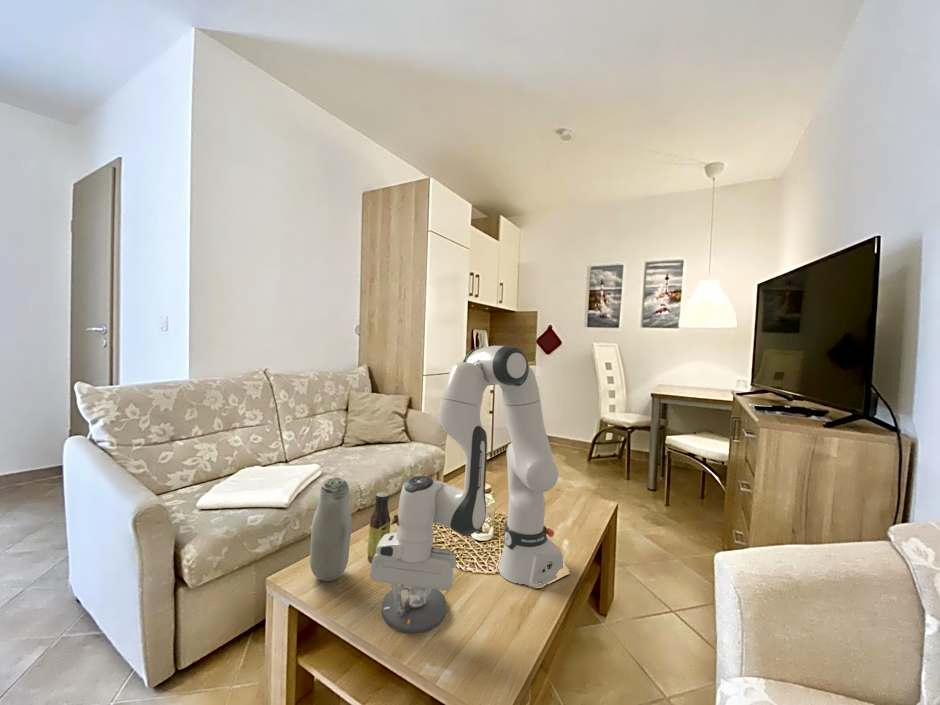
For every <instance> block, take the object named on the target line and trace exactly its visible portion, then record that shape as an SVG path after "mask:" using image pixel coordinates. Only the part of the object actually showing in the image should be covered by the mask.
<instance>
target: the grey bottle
mask: <svg viewBox="0 0 940 705" xmlns="http://www.w3.org/2000/svg"><path fill="white" fill-rule="evenodd" d="M349 491H350V488H349V484H348V482H347V481H346V480H344V479H343V478H341V477H330V478H328V479H326V480H324V482H323V483H322V485H321V488H320V491H319V492H320V494H319V498H318V499H319V500H318V503H317V505H316V506H317V507H316V510H315V511H314V515H313V518H312V522H311V533H310V537H311V538H310V552H309V553H310V555H309V566H310V570H311V573H312V574H313V575H314V577H316V579H318V580H320V581H325V582H331V581H335V580H336V579H338V578H340V577H341V576H342V575H343V574H344V572H345V570H346V568H347V565H348V561H349V556H350V546H351V545H350V544H351V535H352V522H353V521H352V520H353V519H352V513H351V506H350V502H349V501H350V499H349V495H350V494H349V493H350V492H349Z"/></svg>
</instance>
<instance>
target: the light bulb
mask: <svg viewBox="0 0 940 705" xmlns="http://www.w3.org/2000/svg"><path fill="white" fill-rule="evenodd" d="M421 593H425V592H424V591H422V590H419V589H411V586H408V585H402V586H401V593H400V607H399V608H398V609H397V614H398V615H400V616H403V615H404V614H405V613H406V612H407V611H408V610H409V609H420V608H422V607H424V606H425V605H426V604H421V603H420V596H421ZM426 602H427V601H426Z"/></svg>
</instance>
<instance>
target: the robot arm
mask: <svg viewBox="0 0 940 705" xmlns="http://www.w3.org/2000/svg"><path fill="white" fill-rule="evenodd" d="M489 385H490V386H491V385H492V386H496V385H499V387H500V389H501V393H502V394H501V395H502V403H503V409H504V410H503V411H504V417H505V424H506V430H507V432H508V435H509V439H510V443H509V445H508V447H507V448H506V453H505V454H506V461H507V462H506V463H507V487H508V488H507V490H508V506H507V517H506V522H505V524H504V535H503V538H504V539H503V540H504V543H503V549H502V553H501V555H500V556H501V557H500V560H499V561H498V562H499V563H498V564H497V570H498V569H499V571H498V573H499V572H500V573H499V574H500V576H501V577H503V578H504V579H506V581H509V582H511V583H513V584H516V583H519V584H518V585H521V584H527V585H531V586H533V587H541V586H543V585H544V584H547V583H548V582H550V581H552V580H554V579H556V578H557V576H556V574H557V573H558V571H559V570H560V569H562V568H563V561H564V558H563V553H562V551H561V549H560V547H558V545H556V543H554V542H553V541H552V540H551V539H550V538H552V537H554V535H555V531H554V530H553V529H551V527H547V526H545V525H544V524H545V523H544V522H545V512H546V500H545V496H544V493H546V492H548V491H550V490H552V489H553V488H554V487H555V486H556V484H557V482H558V479H559V469H558V467H557V464H556V462H555V459H554V456H553V452H552V448H551V445H550V441H549V438H548V434H547V431H546V427H545V423H544V416H543V409H542V402H541V396H540V395H541V394H540V389H539V386H538V382H537V377H536V376H535V373H534V370H533V368H532V367H530V366H529V362H528V358H527V356H526V355H525V352H524V351H522V349H520V348H518V347H515V346H512V345H490V346H483V347H476V348H474V349H471V350H470V351H469V352H468V353H466V355H465V356H464V358H463V361H462V362H458V363H455V364H454V365H453V366H452V367H451V369H450V371H449V373H448V375H447V378H446V380H445V383H444V387H443V389H442V392H441V397H440V402H439V406H438V411H437V417H438V421H439V425H440V426H441V428H442V429H443V431H444V432H445V433H446V434H447V435H448V436H449V437H450V438H452V439H453V440H454V441H455V442H456V443H458V445H459V446H460V447H461V449H462V450H463V452H464V455H465V468H464V469H465V471H464V485H463V486H464V487H463V489H462V488H459V487H456V486H453V485H451V484H448V483H446V482H443V481H440V480H434V479H433V478H432V477H430V476H428V475H415V476H412V477H410V478H408V479H406V481H405V482H404V483H403V485H402V488H401V490H400V491H401V492H400V496H399V501H398V510H397V515H398V519H399V526H397V529H396V530H397V531H396V532H390V533H389V534H385V535H384V536H383V537H382V538H381V540H380V541H379V543H378V545H377V548H376V554H375V556H374V558H373V560H372V562H371V564H370V571H369V577H370V579H371V581H373V582H378V583H387V584H390V585H389V586H390V588H391V589H390V590H392V591H393V593H394V600H399V601H400V593H401V590H399V588H398V586H399V585H408V586H416V587H423V588H425V591H426V592H425V593H421V596H420V603H421V604H426V601H427V596H428V595H429V594H430V592H431V589H438V590H439V591H447V592H448V591H450V590H451V589H452V588H453V585H454V580H455V571H454V570H455V569H454V568H455V566H456V565H457V556H456V553H455V552H453V551H452V550H451V549H449V548H445V549H444V548H440V547H433V544H434V528H433V527H434V524H436V523H437V524H439V525H441V526H444V527H447V528H448V529H451V530H452V531H454V532H455V533H457V534H459V535H460V536H463V537H467V536H470V535H473V534H475V533H476V532H478V531H479V530H480V529H481V528H482V527H483V525H484V523H485V521H486V517H487V503H486V502H487V500H486V482H487V481H486V480H487V479H486V476H487V458H488V437H487V432H486V430H485V429H484V428H483V426H482V423H481V422H482V420H481V408H482V404H483V398H484V393H485V390H486V389H487V387H488V386H489ZM547 535H548V536H549V538H548V536H547ZM539 583H541V584H539Z"/></svg>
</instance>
